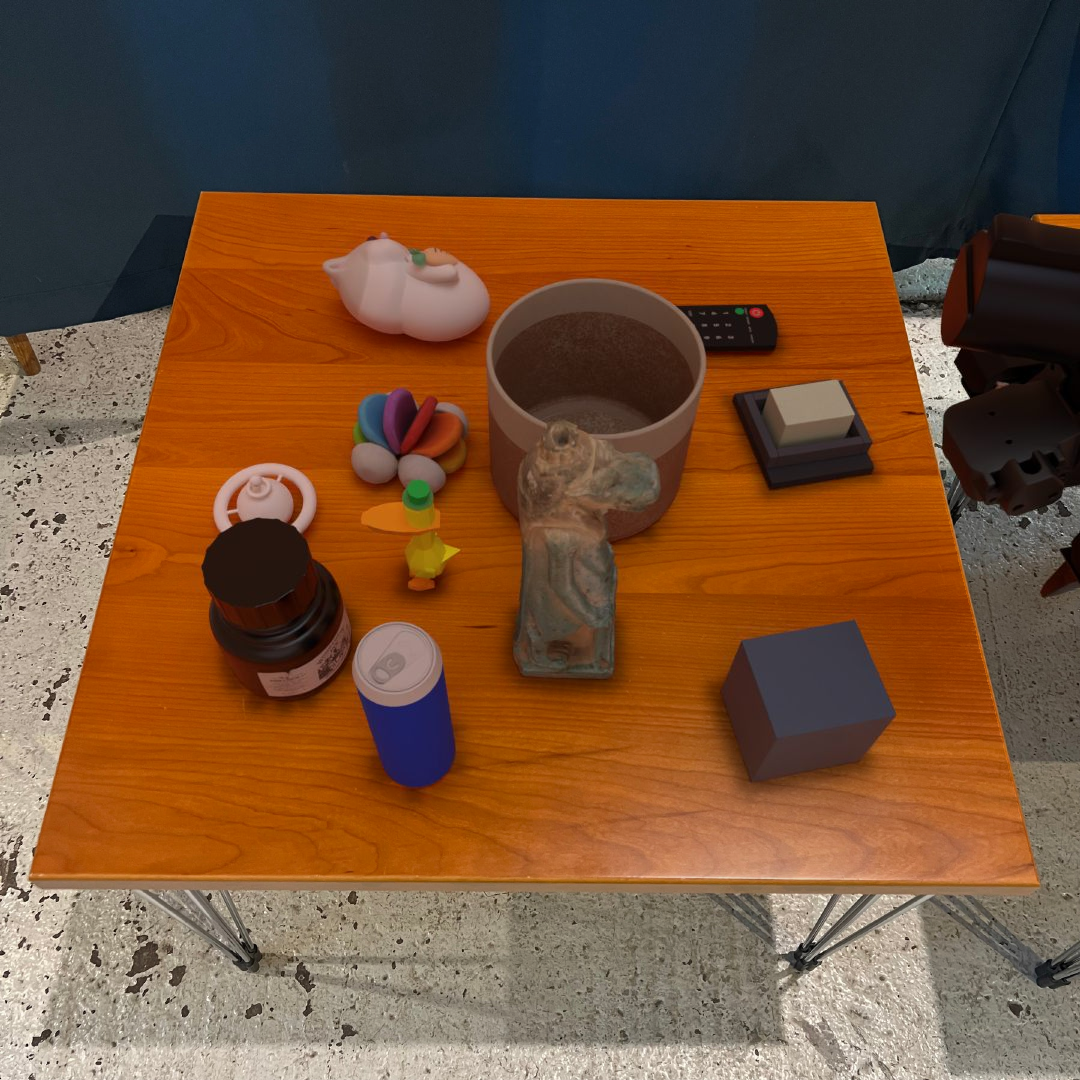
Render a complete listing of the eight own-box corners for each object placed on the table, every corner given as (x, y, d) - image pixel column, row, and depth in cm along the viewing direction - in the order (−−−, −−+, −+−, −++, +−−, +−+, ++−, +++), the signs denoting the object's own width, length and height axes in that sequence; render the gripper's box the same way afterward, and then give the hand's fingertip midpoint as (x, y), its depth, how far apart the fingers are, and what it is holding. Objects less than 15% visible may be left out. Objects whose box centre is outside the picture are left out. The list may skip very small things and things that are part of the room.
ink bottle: (296, 730, 68) (258, 652, 58) (202, 668, 71) (149, 584, 61) (380, 626, 73) (358, 538, 63) (289, 572, 75) (254, 479, 65)
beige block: (826, 406, 84) (837, 378, 81) (843, 441, 82) (855, 414, 79) (760, 416, 84) (769, 388, 81) (776, 452, 81) (785, 425, 78)
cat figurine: (498, 246, 82) (324, 208, 82) (478, 338, 82) (304, 301, 82) (499, 279, 92) (343, 245, 92) (482, 361, 92) (325, 328, 91)
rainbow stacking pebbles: (450, 511, 79) (444, 455, 73) (339, 482, 80) (324, 425, 74) (483, 433, 83) (480, 374, 77) (377, 408, 85) (366, 348, 79)
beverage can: (417, 705, 69) (394, 601, 57) (471, 749, 68) (460, 651, 55) (365, 758, 67) (330, 662, 55) (420, 805, 65) (396, 717, 53)
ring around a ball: (313, 469, 81) (215, 487, 79) (301, 426, 76) (196, 445, 75) (326, 549, 77) (223, 569, 75) (314, 510, 72) (204, 531, 71)
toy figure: (374, 600, 74) (351, 509, 64) (378, 560, 76) (356, 466, 66) (463, 599, 74) (454, 508, 64) (464, 560, 76) (455, 465, 66)
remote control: (515, 318, 91) (515, 307, 90) (769, 315, 92) (772, 304, 91) (516, 360, 88) (516, 349, 87) (778, 355, 89) (782, 345, 88)
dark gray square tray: (828, 386, 87) (835, 367, 85) (871, 474, 82) (880, 455, 79) (732, 400, 86) (737, 381, 84) (769, 490, 80) (776, 472, 78)
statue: (629, 688, 70) (676, 481, 49) (514, 693, 70) (511, 486, 49) (620, 605, 74) (660, 380, 53) (510, 609, 74) (507, 385, 53)
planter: (714, 509, 79) (748, 396, 68) (537, 576, 75) (540, 467, 64) (626, 377, 87) (643, 255, 76) (462, 431, 83) (453, 311, 72)
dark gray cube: (824, 671, 71) (855, 618, 65) (860, 761, 68) (897, 715, 61) (719, 690, 70) (740, 639, 64) (750, 783, 67) (776, 738, 60)
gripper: (921, 261, 54) (842, 441, 67) (1091, 538, 44) (960, 686, 57) (1104, 237, 55) (992, 418, 68) (1310, 500, 45) (1132, 653, 58)
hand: (1013, 533), depth 63 cm, fingers open, 9 cm apart
